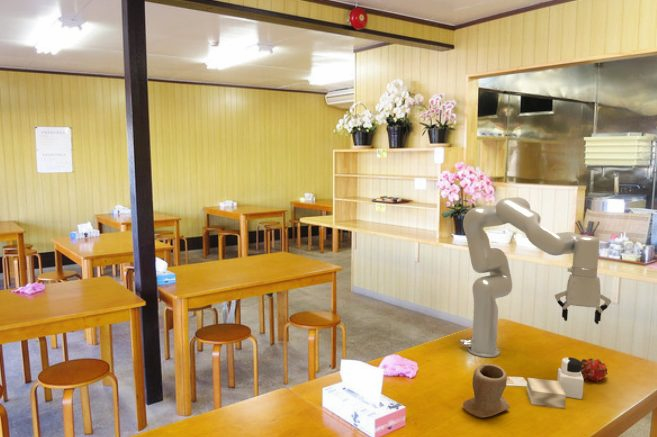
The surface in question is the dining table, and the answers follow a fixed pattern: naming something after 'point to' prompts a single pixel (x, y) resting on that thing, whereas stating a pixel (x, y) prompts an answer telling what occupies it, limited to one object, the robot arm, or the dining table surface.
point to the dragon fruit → (593, 369)
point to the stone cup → (487, 391)
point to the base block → (545, 393)
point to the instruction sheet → (516, 381)
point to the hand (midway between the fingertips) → (580, 321)
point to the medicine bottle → (571, 377)
